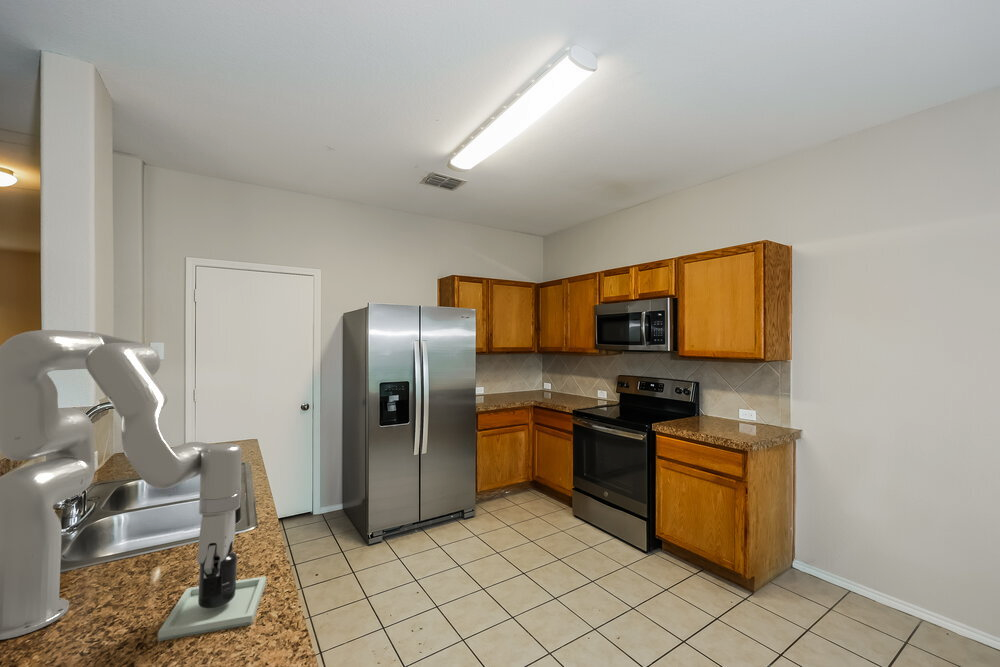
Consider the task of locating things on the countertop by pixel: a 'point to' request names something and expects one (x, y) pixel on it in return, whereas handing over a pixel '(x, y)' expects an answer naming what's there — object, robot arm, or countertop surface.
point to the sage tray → (213, 611)
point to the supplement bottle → (227, 582)
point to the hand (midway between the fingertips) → (217, 585)
